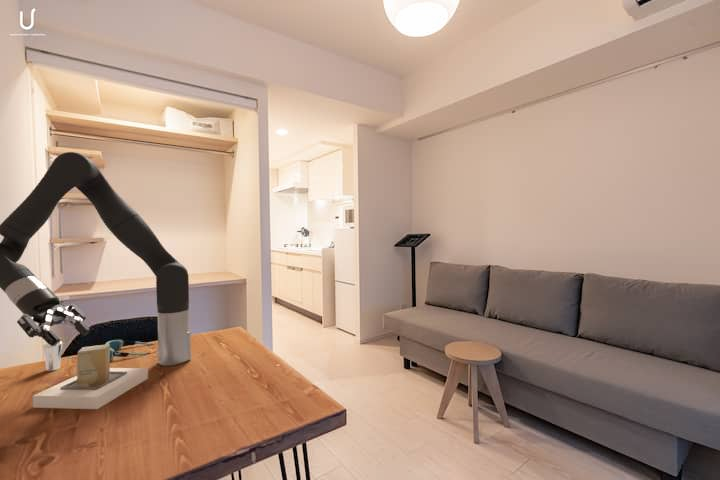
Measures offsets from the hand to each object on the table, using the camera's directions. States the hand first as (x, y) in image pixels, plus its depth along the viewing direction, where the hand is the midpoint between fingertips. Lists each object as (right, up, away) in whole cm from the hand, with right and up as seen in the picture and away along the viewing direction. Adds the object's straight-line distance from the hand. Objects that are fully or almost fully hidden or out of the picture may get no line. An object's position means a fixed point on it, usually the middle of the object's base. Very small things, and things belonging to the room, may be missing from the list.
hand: (72, 338), depth 88 cm
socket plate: (+7, -15, 0) cm, 16 cm away
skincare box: (+6, -15, 0) cm, 16 cm away
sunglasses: (-6, -15, +30) cm, 34 cm away
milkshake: (-20, -15, +15) cm, 29 cm away
